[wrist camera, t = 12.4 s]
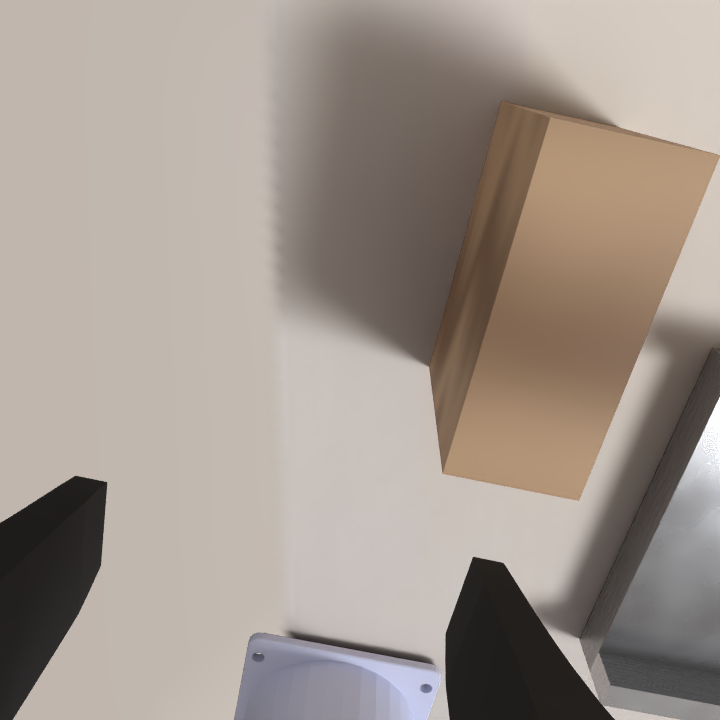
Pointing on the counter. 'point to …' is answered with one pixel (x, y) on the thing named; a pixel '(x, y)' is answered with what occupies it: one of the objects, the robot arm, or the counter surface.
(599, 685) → the slot plate
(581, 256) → the tan rectangular block
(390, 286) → the counter surface
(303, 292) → the counter surface
